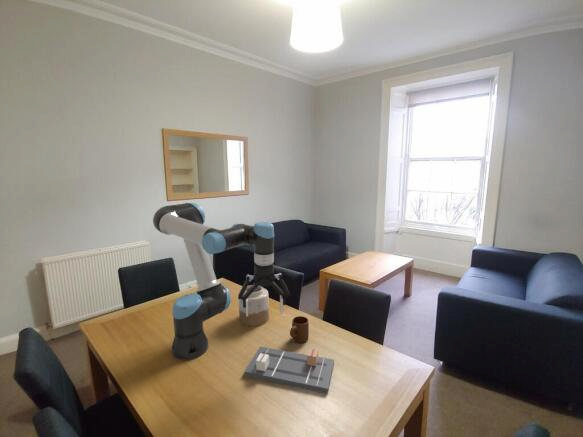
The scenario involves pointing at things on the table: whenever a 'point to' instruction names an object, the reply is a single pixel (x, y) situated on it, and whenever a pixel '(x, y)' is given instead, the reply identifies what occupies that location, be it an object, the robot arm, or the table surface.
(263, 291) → the vase
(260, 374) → the console
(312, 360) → the fader
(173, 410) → the table surface
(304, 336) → the mug
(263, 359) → the block
